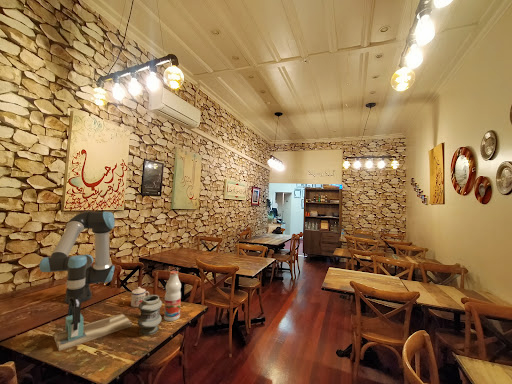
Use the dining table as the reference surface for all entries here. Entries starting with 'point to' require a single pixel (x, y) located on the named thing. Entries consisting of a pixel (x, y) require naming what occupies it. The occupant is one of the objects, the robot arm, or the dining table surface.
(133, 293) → the teacup with lid
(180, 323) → the dining table surface
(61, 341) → the board
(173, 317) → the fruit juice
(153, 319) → the apothecary jar
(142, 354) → the dining table surface
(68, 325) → the bracket
